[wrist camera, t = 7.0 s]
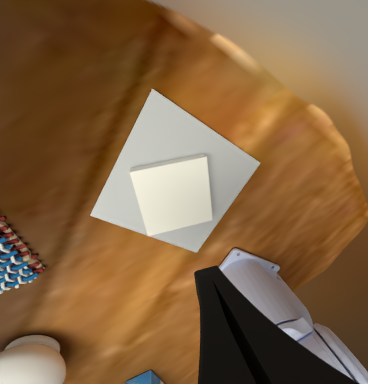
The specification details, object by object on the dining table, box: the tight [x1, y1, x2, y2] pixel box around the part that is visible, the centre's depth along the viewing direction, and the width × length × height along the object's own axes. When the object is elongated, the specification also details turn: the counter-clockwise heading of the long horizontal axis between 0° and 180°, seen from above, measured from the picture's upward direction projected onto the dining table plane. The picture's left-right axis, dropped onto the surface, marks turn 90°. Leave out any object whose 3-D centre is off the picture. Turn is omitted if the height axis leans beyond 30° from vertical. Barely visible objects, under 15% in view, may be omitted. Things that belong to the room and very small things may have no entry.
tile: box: [130, 154, 213, 236], centre depth 19 cm, size 1×7×7 cm
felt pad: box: [90, 89, 260, 253], centre depth 19 cm, size 13×13×1 cm
